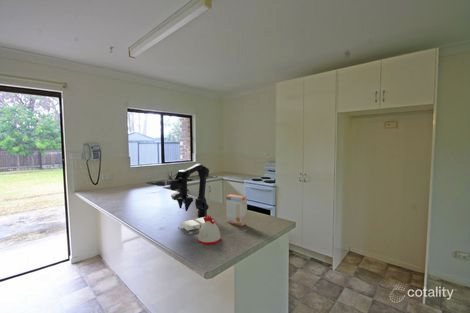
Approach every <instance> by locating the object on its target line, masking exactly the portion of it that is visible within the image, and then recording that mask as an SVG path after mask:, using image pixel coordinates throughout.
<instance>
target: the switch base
mask: <svg viewBox="0 0 470 313" xmlns="http://www.w3.org/2000/svg"><path fill="white" fill-rule="evenodd" d="M177 228H178V229H179V230H180V231H181V232H183V233H184V234H185V235H187V236H191V235H194V234H197V233H198V234H199V231H200V228H201V226H200V228H196V229H192V230H186V229H185V228H183V227H182V226H181V225H180V226H178V227H177Z"/></svg>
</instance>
